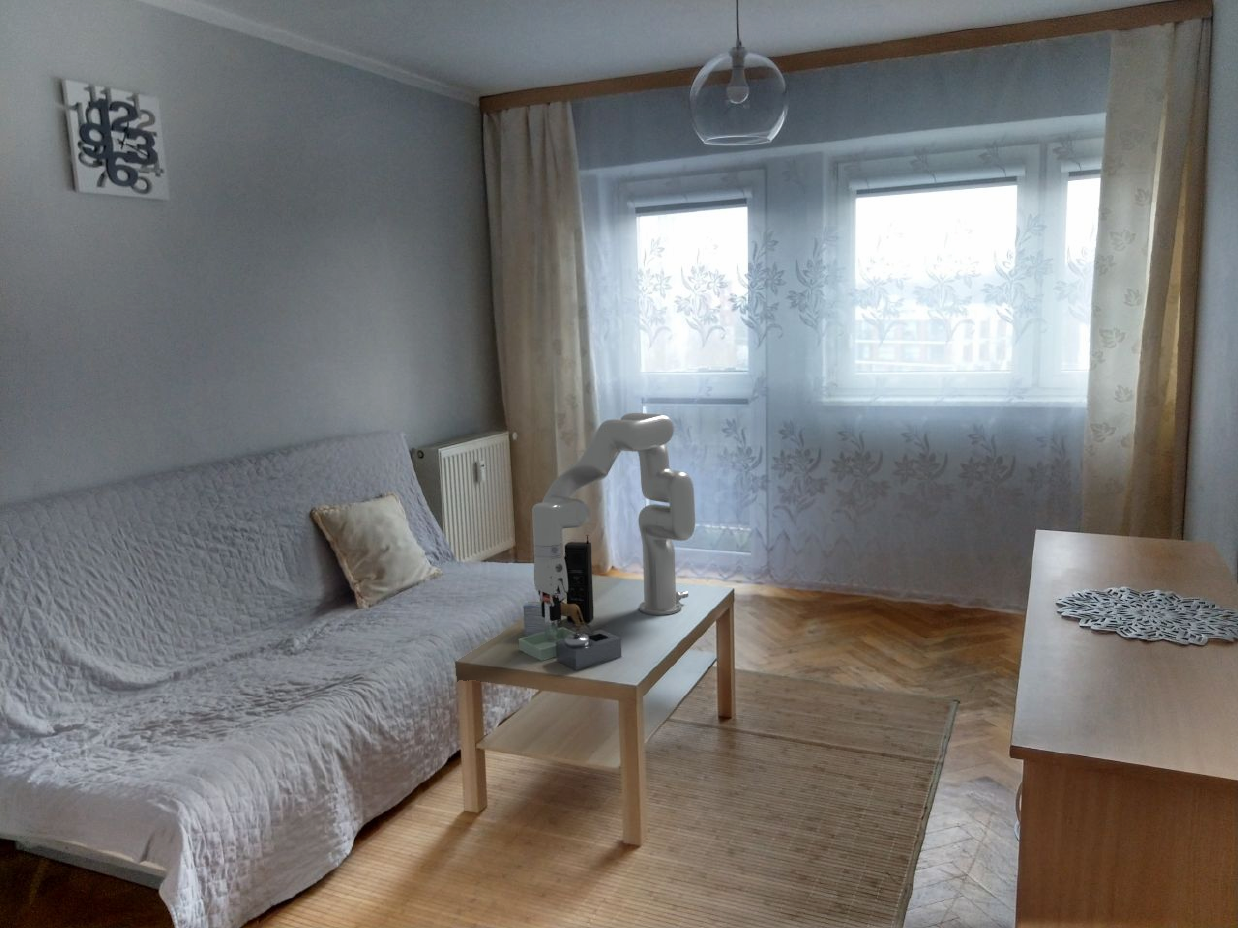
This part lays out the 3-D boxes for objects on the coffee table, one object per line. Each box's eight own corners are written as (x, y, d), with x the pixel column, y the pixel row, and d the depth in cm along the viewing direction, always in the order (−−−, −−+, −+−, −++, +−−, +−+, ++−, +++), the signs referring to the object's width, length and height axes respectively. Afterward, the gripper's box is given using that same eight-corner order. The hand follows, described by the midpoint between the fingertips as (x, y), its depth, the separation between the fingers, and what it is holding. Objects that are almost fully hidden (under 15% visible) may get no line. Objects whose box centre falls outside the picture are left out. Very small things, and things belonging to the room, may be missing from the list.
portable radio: (563, 622, 263) (559, 537, 259) (569, 616, 268) (565, 533, 265) (589, 623, 261) (585, 538, 257) (594, 617, 267) (591, 533, 263)
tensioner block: (601, 647, 241) (600, 621, 240) (621, 656, 234) (620, 629, 232) (556, 660, 232) (555, 633, 231) (576, 670, 225) (575, 642, 224)
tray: (563, 637, 250) (563, 627, 249) (586, 648, 241) (585, 637, 240) (519, 649, 241) (518, 638, 241) (541, 660, 233) (540, 649, 232)
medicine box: (556, 632, 255) (555, 602, 253) (551, 637, 250) (549, 607, 249) (530, 630, 257) (528, 600, 255) (524, 635, 252) (522, 605, 251)
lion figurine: (539, 626, 260) (537, 595, 259) (547, 620, 265) (546, 590, 264) (585, 631, 255) (584, 600, 253) (593, 625, 260) (592, 594, 258)
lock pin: (553, 636, 243) (552, 593, 242) (562, 640, 240) (561, 596, 239) (541, 640, 241) (539, 595, 239) (549, 643, 238) (548, 599, 236)
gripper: (578, 553, 233) (580, 622, 236) (543, 542, 246) (546, 608, 249) (553, 558, 229) (556, 628, 231) (519, 547, 242) (523, 613, 244)
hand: (551, 617), depth 240 cm, fingers closed on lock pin, 3 cm apart
